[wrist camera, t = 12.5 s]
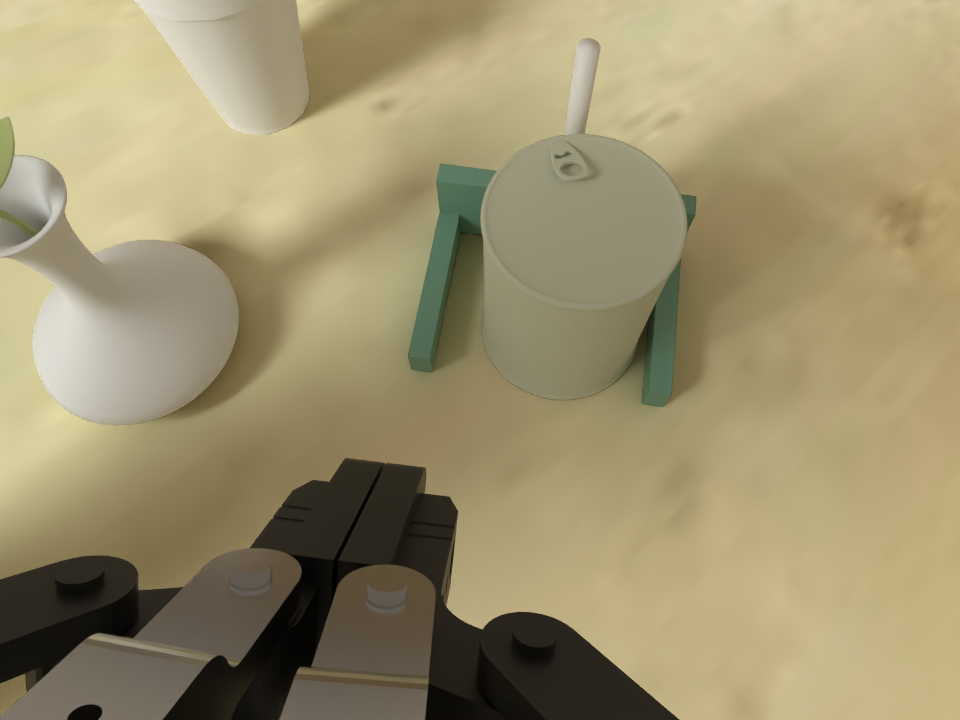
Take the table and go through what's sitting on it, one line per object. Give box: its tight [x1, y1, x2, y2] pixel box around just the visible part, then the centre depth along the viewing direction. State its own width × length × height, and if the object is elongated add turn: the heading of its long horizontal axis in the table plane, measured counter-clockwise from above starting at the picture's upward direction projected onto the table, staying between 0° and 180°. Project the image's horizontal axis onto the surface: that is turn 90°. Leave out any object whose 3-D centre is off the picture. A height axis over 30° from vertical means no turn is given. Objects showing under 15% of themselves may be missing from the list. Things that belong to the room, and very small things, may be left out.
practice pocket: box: [408, 38, 696, 407], centre depth 36 cm, size 11×14×15 cm
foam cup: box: [134, 0, 310, 135], centre depth 43 cm, size 10×9×13 cm
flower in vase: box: [0, 117, 239, 426], centre depth 30 cm, size 13×11×25 cm
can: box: [480, 134, 687, 400], centre depth 36 cm, size 9×9×12 cm
